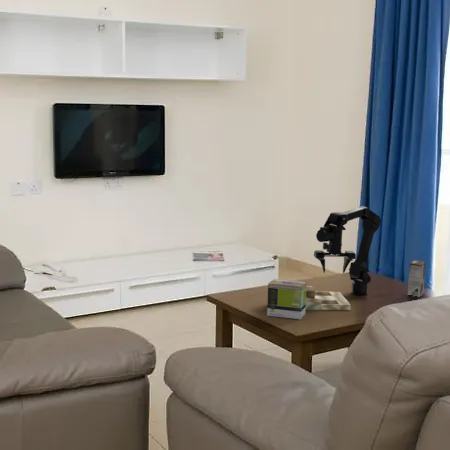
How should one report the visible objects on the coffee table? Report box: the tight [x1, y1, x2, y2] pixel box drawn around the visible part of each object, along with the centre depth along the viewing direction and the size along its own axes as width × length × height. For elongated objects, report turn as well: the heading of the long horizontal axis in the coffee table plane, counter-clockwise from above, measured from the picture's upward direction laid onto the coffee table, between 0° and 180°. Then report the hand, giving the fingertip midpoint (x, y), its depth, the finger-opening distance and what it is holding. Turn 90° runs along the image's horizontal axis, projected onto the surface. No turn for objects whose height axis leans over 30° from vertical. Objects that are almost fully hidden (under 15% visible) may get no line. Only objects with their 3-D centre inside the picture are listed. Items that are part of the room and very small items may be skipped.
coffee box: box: [407, 259, 427, 298], centre depth 358 cm, size 9×6×16 cm
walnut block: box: [306, 287, 316, 299], centre depth 338 cm, size 6×6×4 cm
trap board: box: [305, 285, 352, 311], centre depth 339 cm, size 21×22×5 cm
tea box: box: [266, 278, 307, 320], centre depth 318 cm, size 15×10×15 cm, turn 71°
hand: (333, 272), depth 344 cm, fingers open, 9 cm apart
